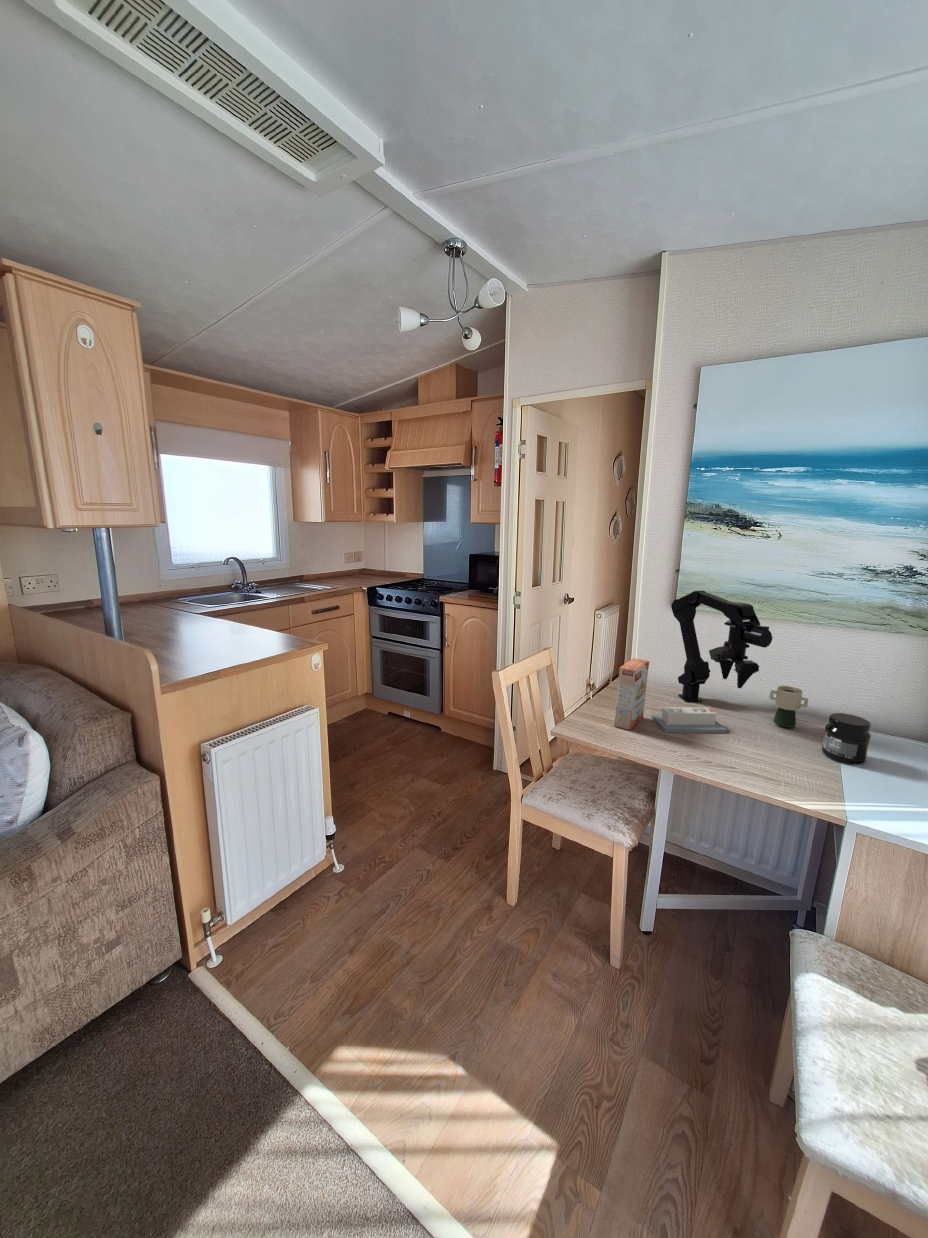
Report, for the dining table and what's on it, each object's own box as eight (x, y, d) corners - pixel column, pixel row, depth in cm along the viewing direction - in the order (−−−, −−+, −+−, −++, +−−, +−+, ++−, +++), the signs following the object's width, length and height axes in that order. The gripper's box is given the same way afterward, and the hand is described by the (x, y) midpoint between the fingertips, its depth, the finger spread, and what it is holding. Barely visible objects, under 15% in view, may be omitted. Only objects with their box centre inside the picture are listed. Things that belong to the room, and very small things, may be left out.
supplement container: (862, 754, 146) (869, 716, 144) (868, 769, 137) (876, 730, 135) (819, 745, 151) (825, 709, 149) (822, 760, 143) (829, 721, 140)
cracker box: (631, 731, 160) (637, 670, 155) (613, 726, 163) (618, 666, 159) (644, 717, 171) (650, 660, 166) (627, 713, 174) (632, 657, 170)
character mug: (805, 727, 165) (811, 690, 162) (800, 733, 160) (807, 696, 157) (768, 717, 172) (774, 682, 169) (763, 723, 167) (768, 687, 164)
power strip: (660, 718, 168) (662, 706, 167) (707, 718, 168) (708, 706, 167) (667, 724, 163) (668, 712, 162) (714, 724, 163) (716, 712, 162)
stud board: (651, 717, 171) (652, 704, 170) (707, 717, 171) (709, 704, 170) (665, 732, 159) (666, 718, 158) (726, 732, 160) (728, 718, 159)
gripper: (700, 633, 177) (696, 674, 180) (729, 647, 158) (723, 693, 162) (731, 633, 177) (726, 675, 180) (763, 647, 159) (756, 693, 162)
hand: (731, 683), depth 171 cm, fingers open, 9 cm apart
